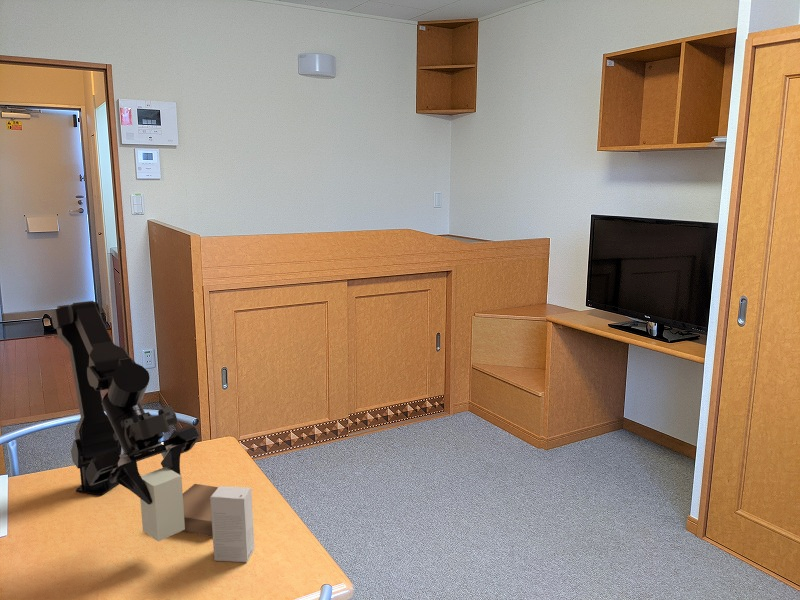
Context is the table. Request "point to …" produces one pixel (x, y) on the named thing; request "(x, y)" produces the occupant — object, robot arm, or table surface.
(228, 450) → the table surface
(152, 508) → the pale grey tall block
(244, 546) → the skincare box
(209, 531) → the walnut block
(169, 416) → the robot arm
